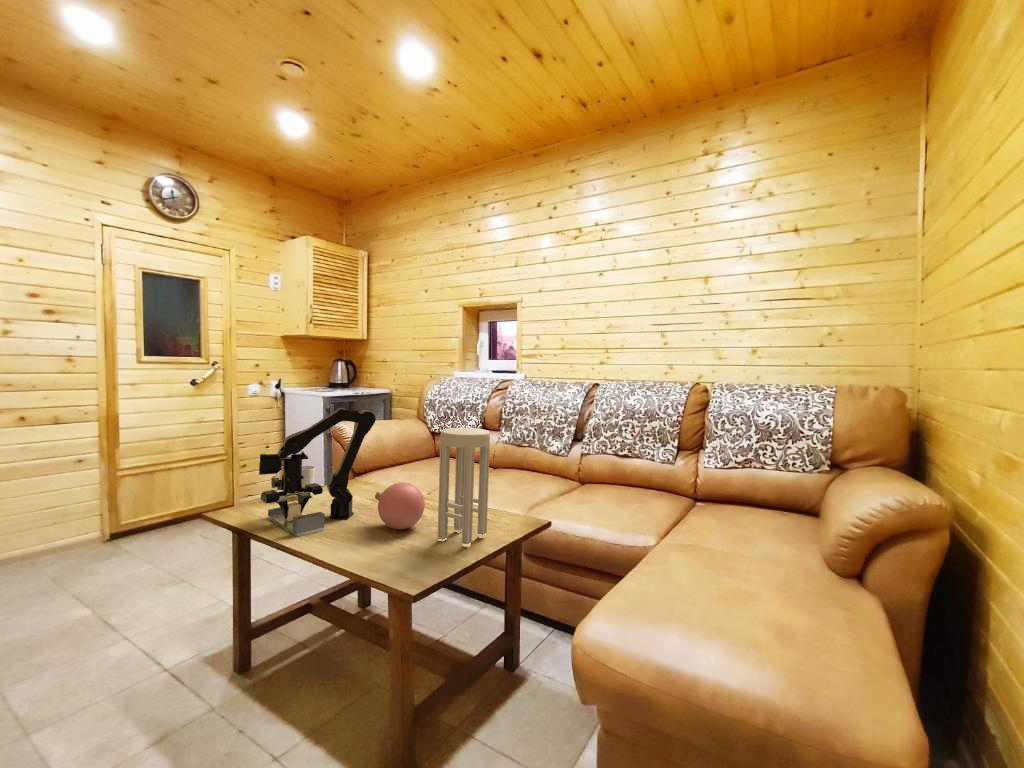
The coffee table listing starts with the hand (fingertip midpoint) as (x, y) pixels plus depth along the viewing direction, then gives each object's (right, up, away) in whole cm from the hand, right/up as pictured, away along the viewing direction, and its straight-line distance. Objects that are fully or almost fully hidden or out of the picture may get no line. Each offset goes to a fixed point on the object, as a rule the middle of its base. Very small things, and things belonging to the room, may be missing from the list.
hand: (292, 517), depth 163 cm
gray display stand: (+2, -2, -2) cm, 3 cm away
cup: (-9, 0, +29) cm, 30 cm away
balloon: (+36, -3, -1) cm, 36 cm away
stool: (+59, -4, -10) cm, 60 cm away
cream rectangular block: (+2, 0, -2) cm, 3 cm away
